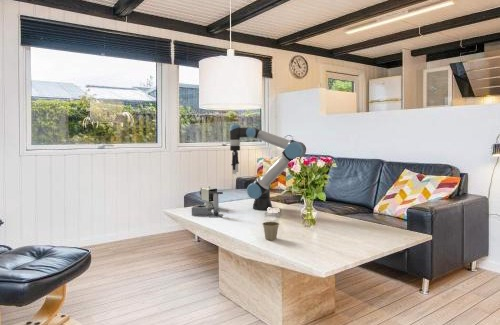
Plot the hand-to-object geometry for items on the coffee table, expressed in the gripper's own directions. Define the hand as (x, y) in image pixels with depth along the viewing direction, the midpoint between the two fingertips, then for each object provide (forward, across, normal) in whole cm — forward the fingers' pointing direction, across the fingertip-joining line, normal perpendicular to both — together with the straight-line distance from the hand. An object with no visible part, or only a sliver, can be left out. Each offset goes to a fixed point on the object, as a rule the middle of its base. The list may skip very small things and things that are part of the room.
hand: (235, 173), depth 278 cm
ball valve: (+29, -8, -22) cm, 37 cm away
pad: (+29, +20, -12) cm, 37 cm away
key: (+28, +20, -12) cm, 36 cm away
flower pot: (+29, +75, +29) cm, 85 cm away
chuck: (+29, +13, -24) cm, 40 cm away
